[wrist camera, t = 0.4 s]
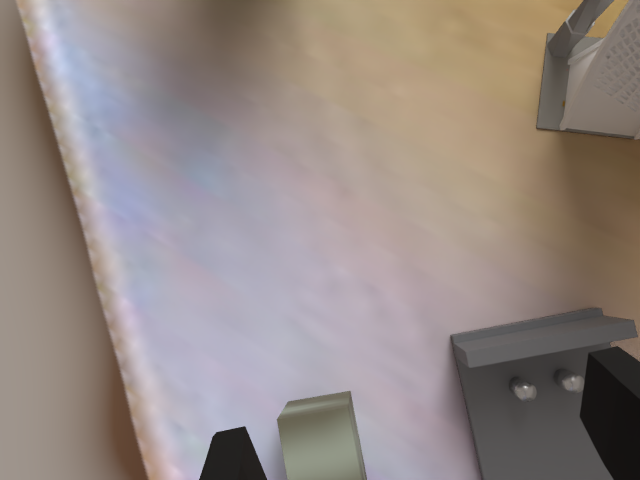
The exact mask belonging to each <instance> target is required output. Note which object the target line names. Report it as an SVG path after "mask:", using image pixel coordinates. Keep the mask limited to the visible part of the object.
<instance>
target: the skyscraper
mask: <svg viewBox="0 0 640 480" xmlns="http://www.w3.org/2000/svg"><path fill="white" fill-rule="evenodd" d="M613 1H614V0H584V1H583V2H582V3H581V4H580V6H579V7H578V8H577V10H573V12H572V13H571V14H570V15H569V17H568V18H567V19H566V21H565V22H564V23H563V25H562V26H561V27H560V28H559V30H558V31H557V32H556V34H552V33H548V34H547V41H546V49H545V58H544V66H543V75H542V83H541V92H540V100H539V109H538V117H537V126H536V128H539V129H548V130H557V131H566V132H575V133H584V134H593V135H602V136H611V137H620V138H629V139H634V140H636V139H640V0H629V1H628V3H627V4H626V6H625V7H624V9H623V10H622V12H621V13H620V15H619V16H618V18H617V19H616V21H615V23H614V24H613V26H612V27H611V29H610V30H609V32H608V34H607V35H606V37H605V38H595V37H584V36H585V35H586V34H587V33H588V32H589V30H590V29H591V28H592V27H593V25H594V24H595V23H594V21H595V20H596V19H597V18H598V17H599V16H600V15H601V14H602V13H603V11H604V10H605V9H606V8H607V7H608V6H609V5H610V4H611V3H612V2H613Z"/></svg>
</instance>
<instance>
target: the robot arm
mask: <svg viewBox="0 0 640 480" xmlns="http://www.w3.org/2000/svg"><path fill="white" fill-rule="evenodd" d="M580 419H581V421H582V423H583V425H584V427H585V429H586V431H587V433H588V435H589V437H590V439H591V441H592V443H593V445H594V447H595V449H596V450H597V452H598V454H599V456H600V458H601V460H602V462H603V464H604V465H605V467H606V469H607V470H608V472H609V473H610V475H611V476H612V478H613V479H614V480H640V362H639V361H638V360H637V359H635V358H634V357H632V356H631V355H629V354H628V353H627V352H625V351H624V350H622V349H621V348H619V347H618V346H617V347H612V348H607V349H603V350H598V351H593V352H589V353H588V359H587V366H586V373H585V381H584V388H583V395H582V402H581V409H580ZM199 480H267V478H266V476H265V473H264V471H263V468H262V466H261V463H260V461H259V459H258V456H257V454H256V451H255V449H254V447H253V444H252V442H251V439H250V437H249V434H248V432H247V430H246V427H245V426H244V427H239V428H235V429H230V430H225V431H221V432H216V434H215V435H214V436H213V437H212V441H211V444H210V448H209V451H208V454H207V457H206V461H205V464H204V467H203V470H202V473H201V476H200V479H199Z"/></svg>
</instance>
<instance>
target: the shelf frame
mask: <svg viewBox="0 0 640 480" xmlns="http://www.w3.org/2000/svg"><path fill="white" fill-rule="evenodd" d="M635 337H638V335H637V331H636V327H635V323H634V320H630V319H623V318H616V317H609V316H603V313H602V309H601V308H590V309H584V310H579V311H574V312H569V313H563V314H558V315H553V316H548V317H542V318H537V319H532V320H527V321H521V322H516V323H511V324H506V325H500V326H495V327H490V328H484V329H479V330H474V331H469V332H463V333H458V334H453V335H451V340H452V344H453V349H454V353H455V358H456V363H457V367H458V372H459V376H460V381H461V385H462V390H463V394H464V399H465V404H466V408H467V413H468V417H469V422H470V426H471V431H472V435H473V440H474V445H475V449H476V454H477V458H478V463H479V467H480V472H481V477H482V480H614V479H613V478H612V476H611V475H610V473H609V472H608V470H607V469H606V467H605V465H604V464H603V462H602V460H601V458H600V456H599V454H598V452H597V450H596V449H595V447H594V445H593V443H592V441H591V439H590V437H589V435H588V433H587V431H586V429H585V427H584V425H583V423H582V421H581V419H580V409H581V402H582V395H583V388H584V381H585V373H586V366H587V359H588V353H589V352H593V351H598V350H603V349H607V348H611V345H610V342H613V341H618V340H624V339H629V338H635Z"/></svg>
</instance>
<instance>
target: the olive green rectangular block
mask: <svg viewBox="0 0 640 480" xmlns="http://www.w3.org/2000/svg"><path fill="white" fill-rule="evenodd" d="M277 422H278V428H279V433H280V439H281V445H282V451H283V457H284V462H285V468H286V474H287V480H367V477H366V472H365V466H364V461H363V456H362V450H361V445H360V440H359V434H358V429H357V424H356V418H355V413H354V407H353V402H352V397H351V391H347V392H341V393H335V394H329V395H324V396H318V397H312V398H306V399H300V400H294V401H289V402H288V403H287V405H286V406H285V408H284V409H283V411H282V412H281V414H280V415H279V417H278V419H277Z"/></svg>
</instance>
